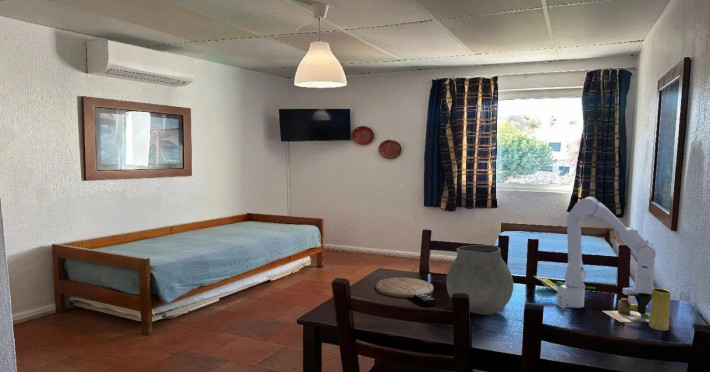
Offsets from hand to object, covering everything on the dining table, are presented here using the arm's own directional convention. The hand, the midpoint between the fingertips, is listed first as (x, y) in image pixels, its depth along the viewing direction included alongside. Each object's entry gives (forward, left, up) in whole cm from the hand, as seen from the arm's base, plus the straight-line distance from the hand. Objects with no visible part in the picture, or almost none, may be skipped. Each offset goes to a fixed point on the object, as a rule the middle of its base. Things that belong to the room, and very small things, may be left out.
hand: (641, 313), depth 171 cm
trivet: (-81, +39, -3) cm, 90 cm away
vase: (0, -9, -3) cm, 10 cm away
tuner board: (-3, +1, -3) cm, 4 cm away
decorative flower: (-9, +37, -3) cm, 38 cm away
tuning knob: (-1, +3, -1) cm, 4 cm away
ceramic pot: (-58, +10, -3) cm, 59 cm away
